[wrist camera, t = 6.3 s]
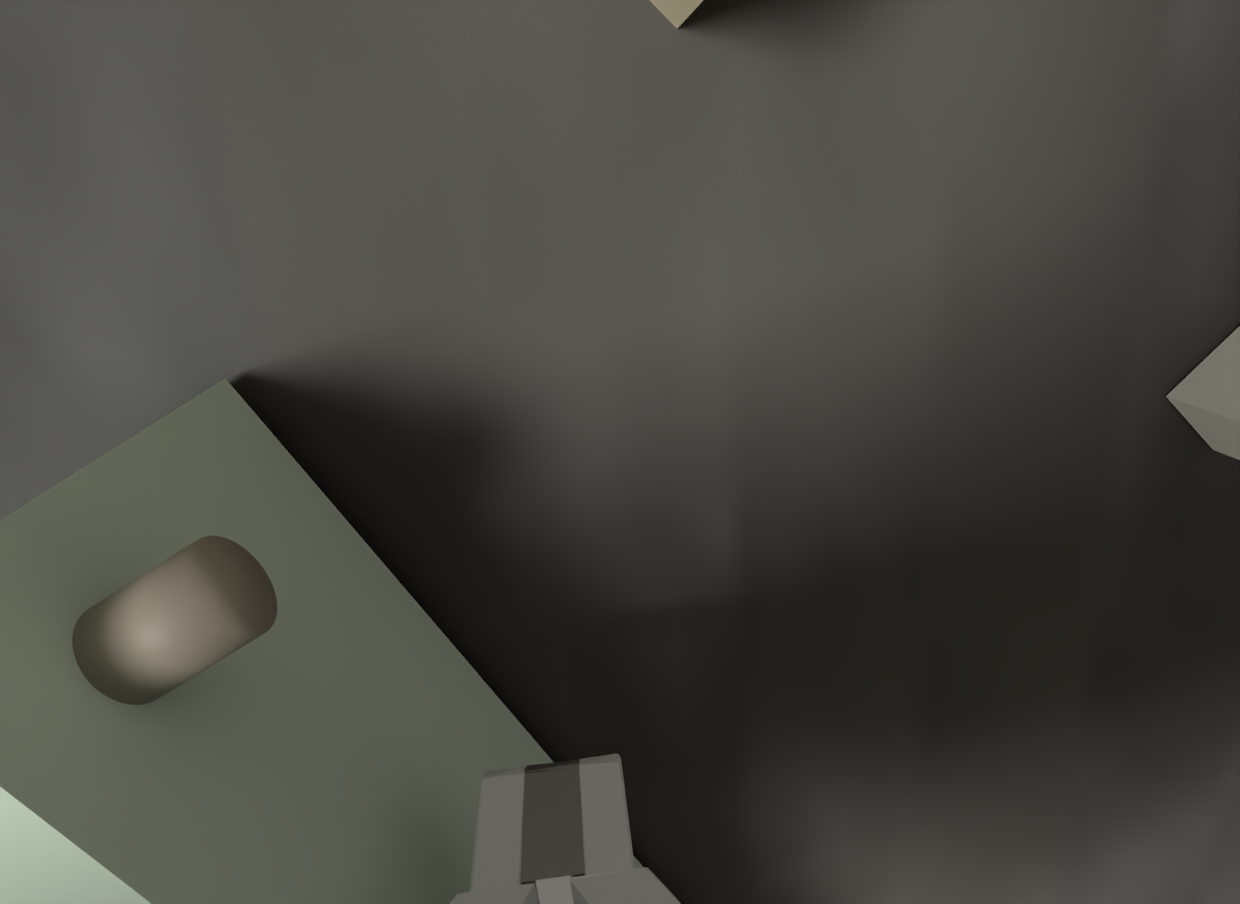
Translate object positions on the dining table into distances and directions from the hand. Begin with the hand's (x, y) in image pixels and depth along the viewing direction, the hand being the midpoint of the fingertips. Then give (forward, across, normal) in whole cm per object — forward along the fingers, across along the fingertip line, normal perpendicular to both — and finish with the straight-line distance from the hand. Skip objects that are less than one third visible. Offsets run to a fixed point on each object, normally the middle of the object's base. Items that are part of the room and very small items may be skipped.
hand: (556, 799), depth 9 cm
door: (+4, +2, +1) cm, 4 cm away
